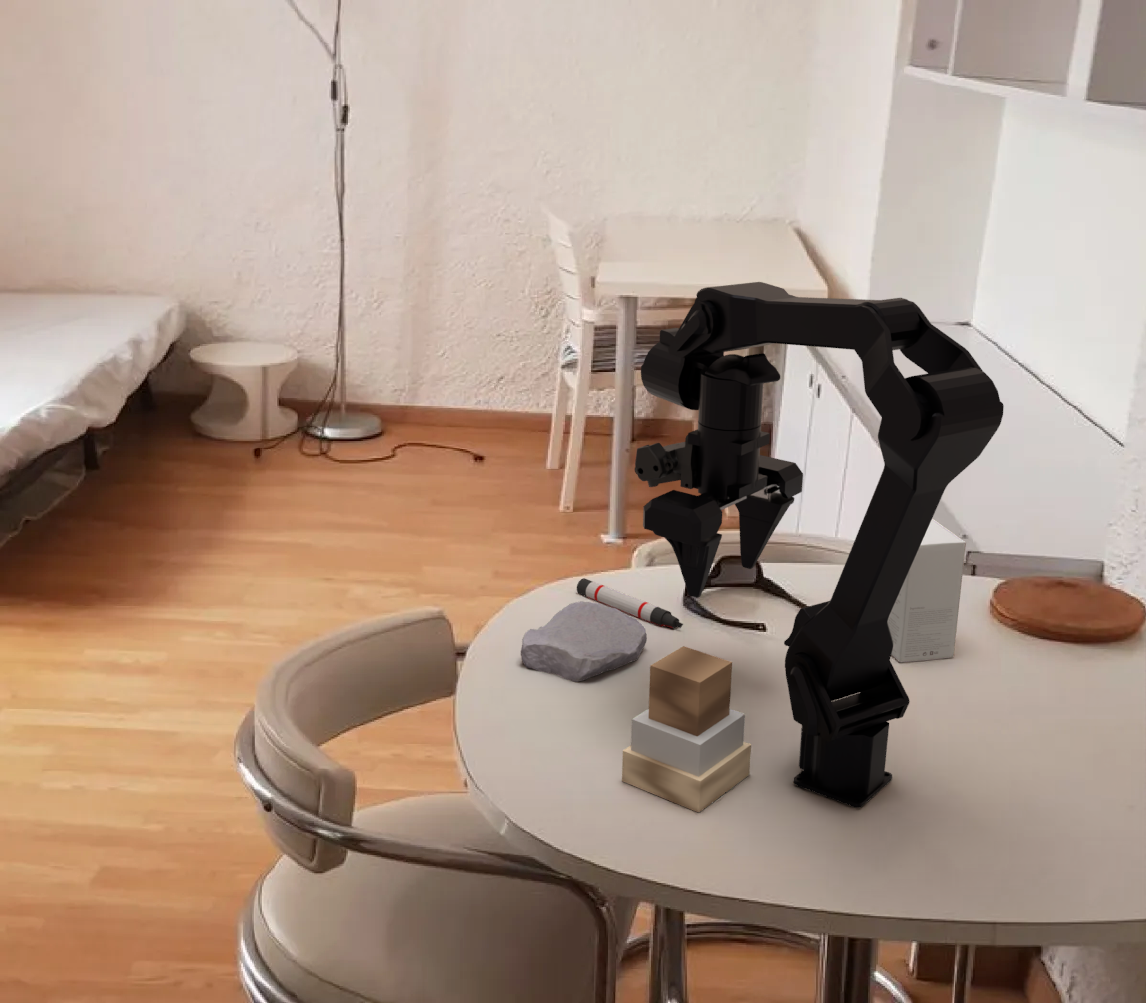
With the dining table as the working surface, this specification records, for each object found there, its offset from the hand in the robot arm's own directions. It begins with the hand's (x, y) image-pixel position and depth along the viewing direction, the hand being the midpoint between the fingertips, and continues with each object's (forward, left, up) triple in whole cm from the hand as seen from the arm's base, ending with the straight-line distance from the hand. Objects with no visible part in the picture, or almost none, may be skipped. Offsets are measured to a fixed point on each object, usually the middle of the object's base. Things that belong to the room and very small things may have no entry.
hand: (721, 581), depth 131 cm
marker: (+19, -12, -13) cm, 26 cm away
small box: (-9, -24, -13) cm, 29 cm away
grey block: (-6, +14, -10) cm, 18 cm away
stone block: (+16, 0, -13) cm, 20 cm away
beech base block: (-6, +14, -12) cm, 20 cm away
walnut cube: (-6, +14, -6) cm, 16 cm away
